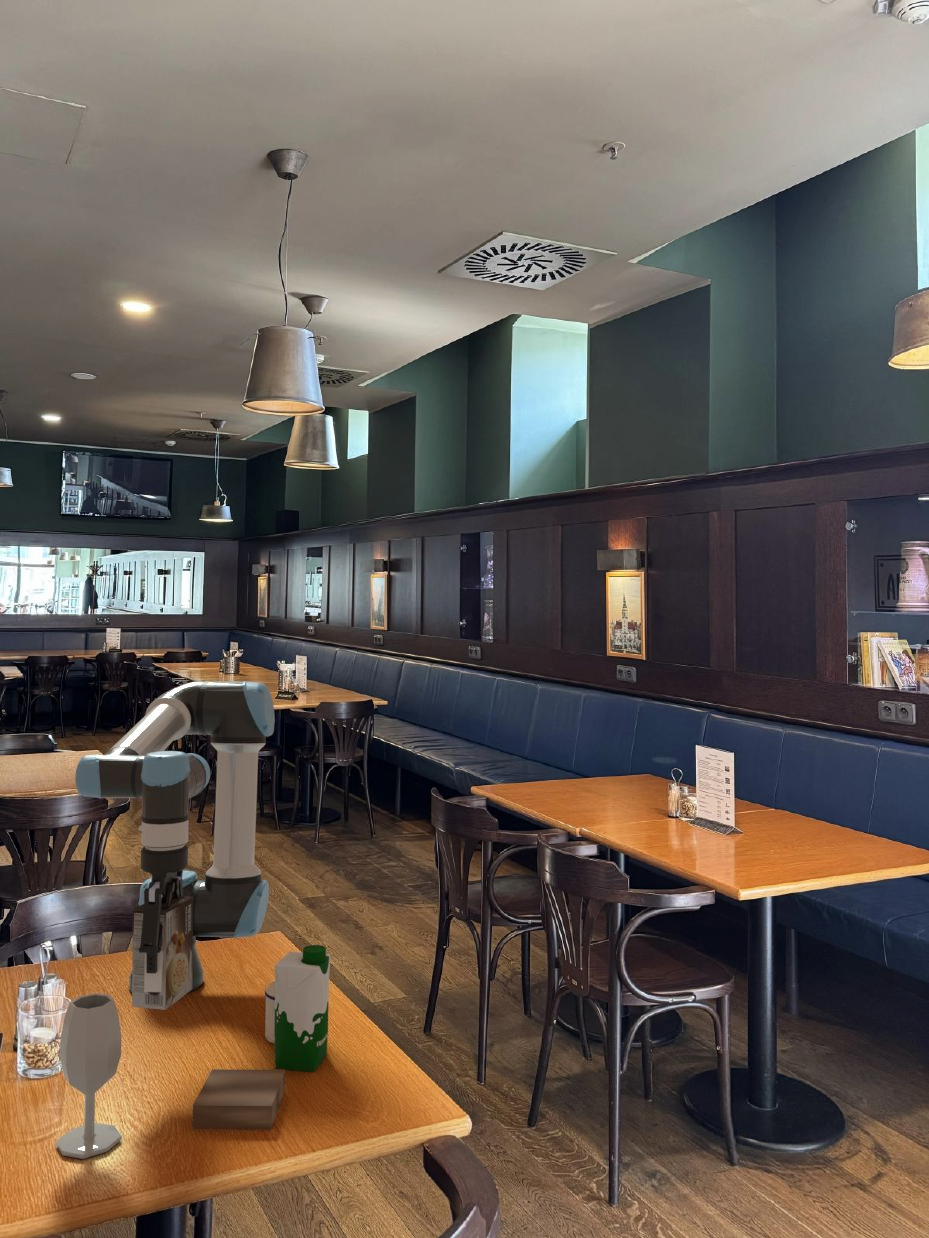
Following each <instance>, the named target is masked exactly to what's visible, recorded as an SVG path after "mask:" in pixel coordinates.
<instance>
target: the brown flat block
mask: <svg viewBox="0 0 929 1238" xmlns="http://www.w3.org/2000/svg"><path fill="white" fill-rule="evenodd" d="M285 1087H286V1069H222V1068H220V1069H218V1068H217V1069H216V1068H214V1069H211V1070H210V1072H209V1074H208V1076H207V1078H206V1080H205V1082H204V1084H203V1086H202V1088H201V1089H200V1091H199V1092H198V1095H197V1097H196V1098H195V1100H194V1103H193V1104H192V1125H191V1126H192V1127H191V1129H192V1130H221V1131H222V1130H227V1131H228V1130H229V1131H230V1130H234V1131H235V1130H238V1131H240V1130H242V1131H243V1130H244V1131H245V1130H247V1131H248V1130H251V1131H253V1130H254V1131H255V1130H256V1131H257V1130H258V1131H259V1130H260V1131H263V1130H264V1131H267V1130H268V1131H271V1130H272V1129H273V1127H274V1125H275V1121H276V1118H277V1115H278V1112H279V1109H280V1106H281V1104H282V1101H283V1097H284V1095H285V1092H286V1088H285Z"/></svg>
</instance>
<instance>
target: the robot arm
mask: <svg viewBox="0 0 929 1238" xmlns="http://www.w3.org/2000/svg"><path fill="white" fill-rule="evenodd" d="M271 693H272V692H271V691H270V689H269V687H268V686H267V685H266V684H264V683H263V682H257V681H256V682H255V681H248V680H244V681H228V680H227V681H225V680H224V681H223V680H222V681H220V680H219V681H217V680H216V681H215V680H213V681H212V680H211V681H210V680H209V681H206V680H196V681H190V682H187V683H183V684H181V685H178V686H176V687H172V688H171V689H169V690H168V691H166V692H164V693H162V694H161V695H159V696H158V697H157V698H155V699H154V700H153V701H152V702H151V703H150V704H149V705H148V707H147V708H146V711H145V714H144V717H142V718H141V719H140V720H139V721H138V722H137V723H136V724H135V725H134V726H133V727H132V728H131V729H130V730H128V732H126V733H125V735H123V736H122V737H121V738H120V739H119V740H118V741H117V742H116V743H115V744H114V745H113V746H112V747H111V748H110V749H109V750H108V751H107V752H106V753H104V754H99V753H95V754H85V755H84V756H82V757H81V758H80V759H79V761H78V763H77V765H76V770H75V776H74V777H75V778H74V779H75V781H74V782H75V788H76V790H77V792H78V794H80V795H81V796H82V797H85V798H86V797H87V798H98V799H141V825H139V826H138V831H140V832H141V836H140V837H141V839H140V840H141V841H140V842H141V845H143V847H142V848H141V849H140V870H142V871H143V872H144V873H147V874H148V873H149V874H150V875H151V877H150V878H148V879H146V880H144V882H143V883H142V884H141V886H140V888H139V889H140V890H139V901H138V904H137V905H138V907H139V906H141V905H143V904H144V912H143V923H142V934H141V945H140V948H139V953H145V966H144V992H161V991H162V979H163V950H161V944H162V924H160V915H161V910H165V909H168V908H170V904H171V899H172V898H176V899H178V898H179V896H188V897H193V959H192V967H193V968H192V971H193V972H192V990H190V991H189V992H188V993H190V992H192V991H195V990H196V989H198V988H200V987H201V986H202V985H201V984H203V983H204V969H203V965H202V963H201V962H202V961H201V960H200V959H201V958H200V955H199V952H198V950H197V945H196V939H197V938H196V937H198V938H199V937H200V938H201V937H204V938H205V937H208V938H209V937H211V938H212V937H213V938H214V937H215V938H234V939H237V938H250V937H254V936H256V934H258V933H259V932H260V930H261V928H262V925H263V923H264V919H265V918H266V917H265V916H266V912H267V908H268V904H269V903H268V902H269V897H270V895H269V894H270V888H269V887H270V884H269V882H268V881H267V880H265V879H262V870H261V869H260V868H259V867H258V866H257V865H256V864H255V854H256V851H255V850H256V826H257V824H256V823H257V822H256V821H257V799H258V798H257V795H258V772H259V771H258V769H259V766H258V765H259V752H260V750H261V749H262V748H264V746H265V745H266V743H267V741H266V740H267V739H266V738H268V737H270V736H272V735H273V734H274V732H275V731H274V730H275V723H276V718H275V707H274V700H273V697H272V694H271ZM185 735H186V736H187V735H188V736H189V735H202V736H210V745H211V746H212V747H213V748H214V749H215V750H216V751H217V758H216V759H217V760H216V761H217V763H216V784H215V785H216V786H215V787H216V788H215V808H214V809H215V810H214V811H215V813H214V814H215V815H214V835H213V836H214V837H213V864H212V865H211V866H210V868H209V869H208V870H207V871H206V872H205V879H198V875H197V872H196V871H193V870H185V869H187V867H188V864H189V862H188V861H189V846H187V843H188V842H189V801H190V799H191V798H193V797H196V796H197V795H199V794H200V793H202V791H203V790H204V789H205V788H206V786H208V784H209V781H210V778H211V768H210V765H209V763H208V761H207V760H206V759H205V757H202V756H201V755H199V754H197V753H192V752H191V753H190V752H189V753H186V752H184V751H179V750H178V751H176V750H167V748H168V747H169V746H170V745H171V744H172V742H173V741H176V740H180V739H181V738H183V737H184V736H185ZM149 944H152V945H149ZM128 979H129V980H128V989H129V991H130V992H131V993H132V970H131V971H130V973H129V977H128ZM202 982H203V983H202ZM200 985H201V986H200ZM199 986H200V987H199ZM194 989H195V990H194Z"/></svg>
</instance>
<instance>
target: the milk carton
mask: <svg viewBox="0 0 929 1238" xmlns="http://www.w3.org/2000/svg"><path fill="white" fill-rule="evenodd" d="M331 958H332V957H331V954H329V953H327V947H326V946H323V945H319V944H311V945H307V946H304V947H303V948H302V952H300V951H299V952H297V951H288V953H287V954H285V955H284V956H283V957H282V958H281V959H280V960H279V961H278V962H277V963H275V964H274V982H275V1031H274V1041H275V1044H274V1068H275V1069H276V1070H287V1071H299V1072H308V1073H309V1072H310V1073H315V1072H316V1071H317V1069H318V1067H319V1065H320V1064H321V1063H322V1062H323V1061H324V1059H325V1057H327V1055H328V1054H327V1052H328V1051H327V1050H328V1036H329V1003H330V1002H329V1000H330V999H329V997H330V996H329V993H330V992H329V991H330V988H329V987H330V969H331Z"/></svg>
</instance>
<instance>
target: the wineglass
mask: <svg viewBox="0 0 929 1238" xmlns="http://www.w3.org/2000/svg"><path fill="white" fill-rule="evenodd" d="M59 1040H60V1041H59V1043H60V1044H59V1045H60V1047H59V1060H60V1065H61V1067H62V1071H63V1072H62V1073H63V1076H64V1079H65V1080H66V1081H67V1083H68V1084H69V1085H70V1086H71V1087H73V1088H74V1089H76V1090H77V1091H78V1092H80V1093H82V1094H83V1095H84V1118H83V1119H84V1120H83V1121H84V1125H81V1126H78V1127H75V1128H72V1129H70V1130H68V1131H67V1132H66V1133H65V1134H64V1135H62V1136H61V1137H60V1138H59V1139H57V1140H56V1141H55V1145H56V1147H57V1149H58V1150H59V1152H60V1153H61V1155H62V1156H63V1157H69V1158H74V1159H80V1160H85V1159H89V1158H92V1157H95V1156H97V1155H101V1154H104V1153H107V1152H109V1151H110V1150H111V1149H112V1148H113V1147H115V1146H117V1144H118V1143H119V1142H120V1141H122V1138H123V1137H122V1134H121V1133H120V1132H119V1130H118V1129H117V1128H116V1126H115V1125H113V1124H105V1123H100V1122H96V1121H95V1117H96V1116H95V1115H96V1113H95V1112H96V1111H95V1108H96V1105H95V1104H96V1103H95V1102H96V1100H95V1099H96V1097H95V1096H96V1093H97V1092H99V1090H100V1089H101V1088H103V1086H104V1085H106V1083H107V1082H109V1081H110V1080H111V1079H113V1077H114V1076H115V1075H116V1074H117V1070H118V1067H119V1065H120V1064H119V1063H120V1059H121V1056H122V1031H121V1025H120V1017H119V1011H118V1009H117V1006H116V1002H115V999H114V998H113V997H112V996H111V995H110V994H107V993H97V992H94V993H91V994H85V995H80V996H78V997H76V998H75V999H72V1000H71V1001H69V1003H68V1006H67V1009H66V1012H65V1015H64V1017H63V1023H62V1030H61V1034H60V1039H59Z"/></svg>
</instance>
